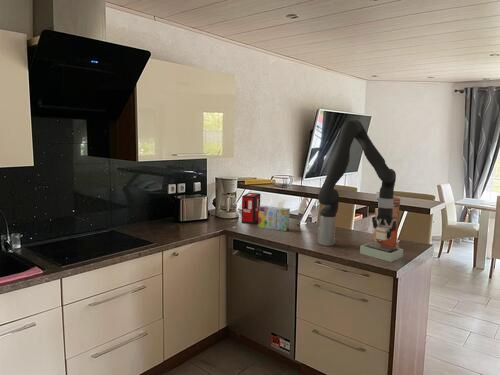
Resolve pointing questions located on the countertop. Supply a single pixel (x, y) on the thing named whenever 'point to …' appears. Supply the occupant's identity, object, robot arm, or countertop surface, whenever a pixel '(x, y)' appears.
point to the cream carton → (381, 233)
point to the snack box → (274, 218)
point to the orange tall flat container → (395, 216)
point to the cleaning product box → (250, 208)
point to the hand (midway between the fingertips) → (383, 237)
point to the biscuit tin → (383, 247)
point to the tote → (381, 253)
